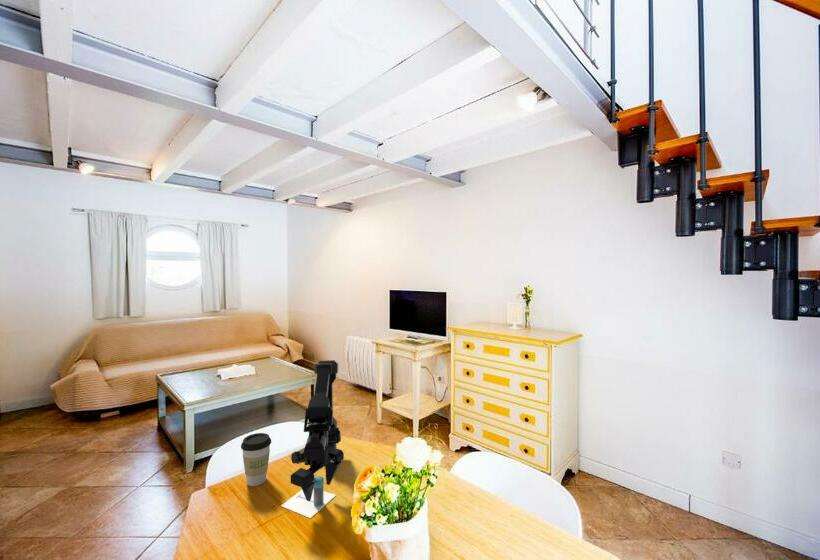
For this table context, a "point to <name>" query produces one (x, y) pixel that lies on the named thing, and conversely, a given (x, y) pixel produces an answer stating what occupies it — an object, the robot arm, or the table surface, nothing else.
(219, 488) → the table surface
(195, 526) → the table surface
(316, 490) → the marker
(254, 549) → the table surface
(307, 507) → the paper
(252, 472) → the coffee cup
